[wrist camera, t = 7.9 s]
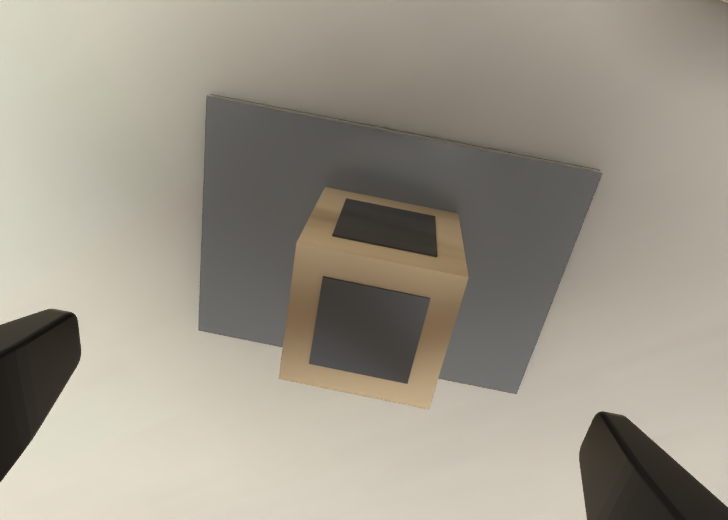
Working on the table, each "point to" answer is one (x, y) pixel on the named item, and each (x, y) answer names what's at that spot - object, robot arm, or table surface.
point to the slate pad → (393, 182)
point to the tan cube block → (374, 297)
